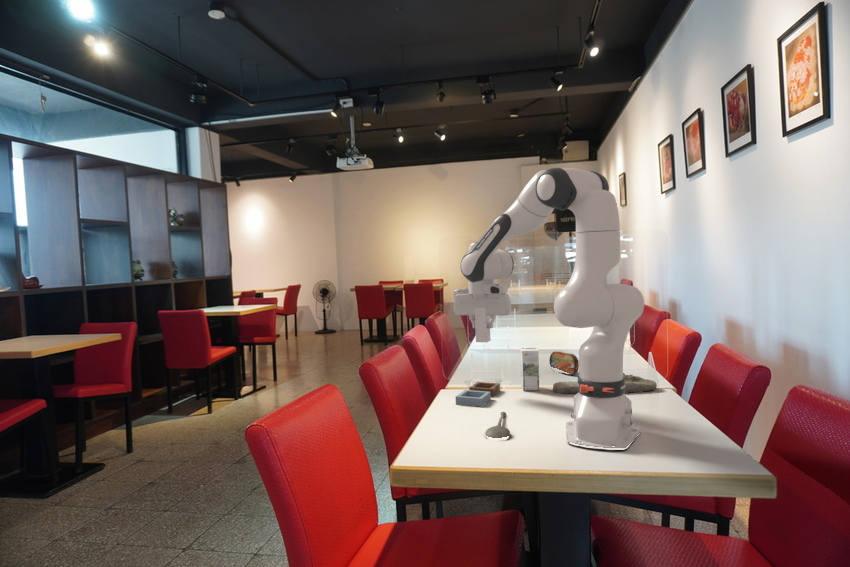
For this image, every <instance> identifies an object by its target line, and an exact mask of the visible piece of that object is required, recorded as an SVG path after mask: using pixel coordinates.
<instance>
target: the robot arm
mask: <svg viewBox="0 0 850 567" xmlns="http://www.w3.org/2000/svg"><path fill="white" fill-rule="evenodd" d="M554 210H560V211H566V210H570V211H571V212H572V213H573V215H574V217H575V262H574V267H573V270H572V273H571V276H570V278H569V280H568V282H567V283H566V285H565V286H564V287H563V288H562V289H561V290H560V291H559V292H558V293H557V295H556V296H555V299H554V302H553V311H554V316H555V317H556V319H557V320H558V322H559V323H560V324H561V325H562V326H565V327H569V328H576V329H583V328H586V329H587V328H593V329H592V331H591V334H590V336H589V338H588V339H587V340H585V341H584V342H583V343H582V344H581V345H580V347H579V350H578V362H579V368H578V371H579V373H578V374H579V376H578V377H577V381H578V382H577V381H576V382H577V385H578V393H575V395H574V396H573V413H571V415H570V417H571V419H573V420H571V421H567V422H566V424H565V429H567V432H566V439H568V441H569V442H572V443H575V444H579V445H586V446H594V447H603V448H626V447H627V446H628V445H629V444H630V443H631V442H632V441H633V440H634V439H635V437H636V436H637V435H638V434H639V433H640V434H641V428H638V427H636V426H634V424H633V406H632V400H631V399H630V398H629V397H628V396H627V395H626V393H625V379H624V378H623V373H624V350H625V345H626V341H627V337H628V335H629V333H630V330H631V328H632V327H633V325H634V323H635V322H636V321H637V320H638V319H639V318H640V317H642V314H643V312H644V308H645V298H644V296H643V293H642V292H641V290H639V288H638V287H636V286H633V285H630V284H626V283H625V284H624V283H607V284H606V280H607V277H608V275H609V273H610V272H611V270H613V269H614V268H615V267H617V265H618V264H619V263H620V261H621V227H620V226H621V224H620V223H621V222H620V215H619V214H620V213H619V208H618V203H617V199H616V197H615V195H614V194H613V193H612V192H611V191H610V185H609V182H608V180H607V178H606V177H605V176H604V175H603V174H601V173H599V172H597V171H594V170H584V169H580V168H578V167H577V168H576V167H562V168H561V167H551V168H548V169H542V170H539V171H538V172H536V173H535V174H534V175H533V176H532V177H531V179H530V180H529V181H527V183H526V184H525V186H524V187H523V189H522V190H521V192H520V193H519V195H518V197H517V198H515V200H514V201H513V202H512V204H511V205H510V206H509V208H507V209H506V210H505V211H504V212H502V213H501V214H500V215H499V216H498V217H497V218H496V219H495V220H494V221H493V222H492V223H491V224H490V225H489V227H488V228H487V229H486V231H485V232H484V233H483V234H482V236H481V237H480V238H479V240H478V241H475V242H472V243H471V244H470V245H468V250H467V251H466V253H465V254H464V255H463V256H462V258H461V262H460V271H461V273H462V275H463V277H464V278H466V280H468V282H467V283H468V284H467V285H468V288H458V289H456V290H454V292H453V300H454V301H453V313H454V314H455V316H468V319H469V321H470V322H471V325H472V329H475V308H486V315H490V323H487V328H490V329H493V328H494V324H493V323H494V322H495V321H496V318H497V316H510V315H511V313H512V303H511V298H510V295H509V294H508V286H506V285H502V284H499V283H496V282H495V281H494V280H502V279H507V278H509V277H510V276H511V275H512V273H513V272H514V268H515V267H514V266H515V261H514V259H513V256H512V255H511V254H510V252H509V251H506V250H503V249H500V248H499V247H500V246H501V245H502V244H503V243H504V242H505V241H507V240H509V239H512V238H514V237H517V236H521V235H522V236H523V235H525V234H529V233H533V232H536V231H538V230H540V229H541V227H542V226H544V224H545V223H546V222H547V221H548V219H549V218H550V217H551V215H552V213H553V212H554ZM640 434H639V435H640ZM635 440H636V439H635ZM635 440H634V441H635ZM578 442H580V443H578ZM612 446H615V447H612Z"/></svg>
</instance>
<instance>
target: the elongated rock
mask: <svg viewBox="0 0 850 567" xmlns="http://www.w3.org/2000/svg"><path fill="white" fill-rule="evenodd" d="M623 378H624V379H625V393H624V394H627V393H643V392H647V391H651V390H656V389H657V388H658V385H657V382H656V381H655V380H652V379H645V378H643V377H641V376H637V375H633V374H629V375H628V374H625V372H623ZM577 382H578V380H577V381H558V382H555V383H554V384H552V386H553V387H552V392H553V393H555V394H558V393H562V394H577V393H578V385H577Z"/></svg>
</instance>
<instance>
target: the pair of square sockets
mask: <svg viewBox="0 0 850 567" xmlns="http://www.w3.org/2000/svg"><path fill="white" fill-rule="evenodd" d="M500 386H501V384H500V383H498V382H497V383H496V382H483V381H476V382H475V383H474V384H472V385H471V386H469V389H464V390H463V391H462V392H460V393H459V394H457V395H456V396H455V405H459V406H460V405H461V406H469V405H474V406H473V407H481V406H482V407H484V406H485V405H486V404H488V402H490V401H491V400H492V399H491V397H492V398H493V397H494V396H496V395H497V393H499V392H500V391H501V387H500ZM484 404H485V405H484ZM483 405H484V406H483Z"/></svg>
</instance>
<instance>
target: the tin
mask: <svg viewBox="0 0 850 567" xmlns="http://www.w3.org/2000/svg"><path fill="white" fill-rule="evenodd" d="M549 367H550V368H551V367H553V368H557V369H559V370H562V371H564V372H567V373H569V374H570V375H569V376H573V375H572V374H574V375H575V374H577V373H578V371H579V358H578V357H577V356H576V355H575V354H574V353H571V352H570V353H569V352H563V351H553V352H552V353H551V354H550V356H549Z"/></svg>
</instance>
